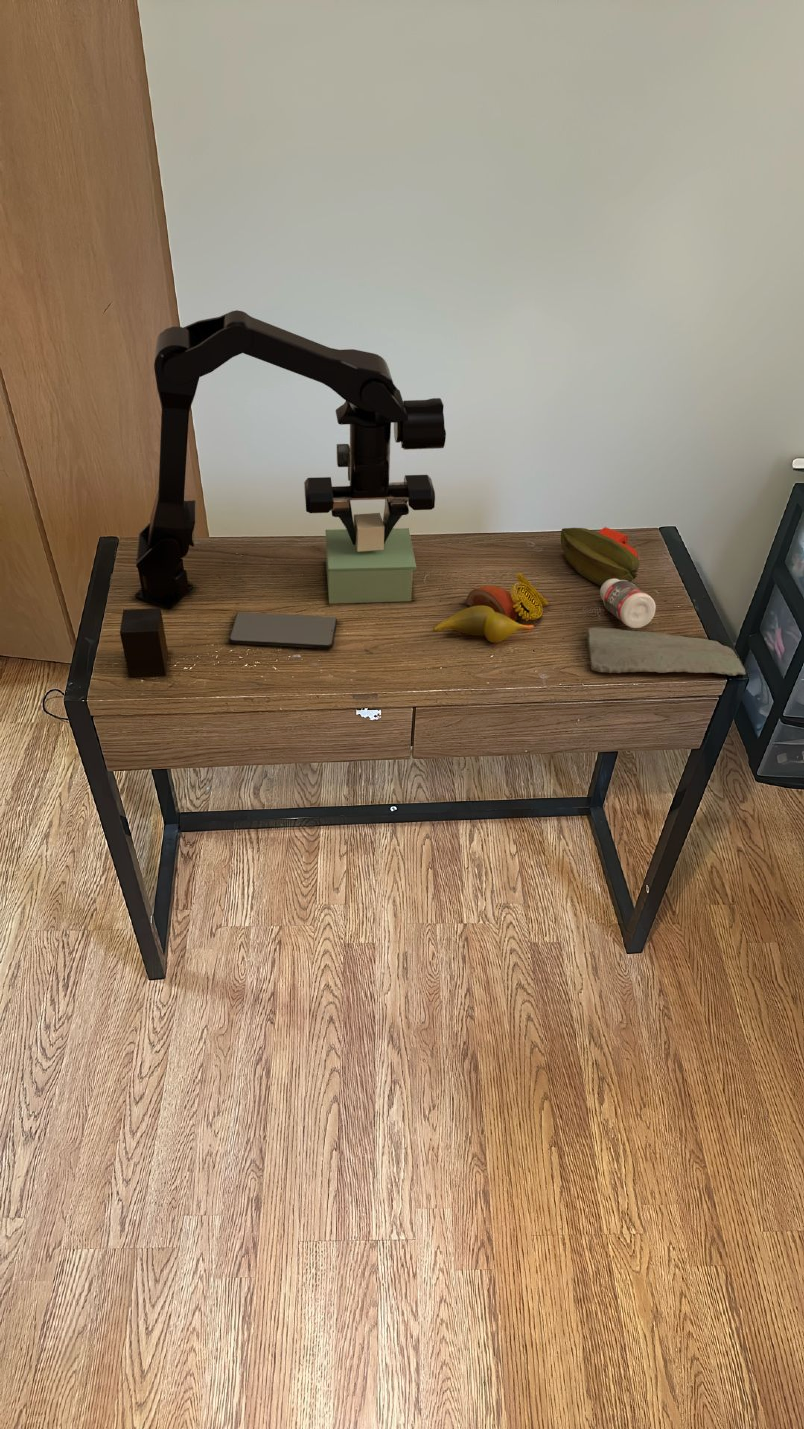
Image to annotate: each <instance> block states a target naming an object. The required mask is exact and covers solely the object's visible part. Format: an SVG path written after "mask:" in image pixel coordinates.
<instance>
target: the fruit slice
mask: <svg viewBox="0 0 804 1429" xmlns="http://www.w3.org/2000/svg"><path fill="white" fill-rule="evenodd" d="M465 601H466V602H465V603H466V605H468V606H469V607H473V606H480V605H484V606H489V607H490V608H492V609H493V610H494V611H495V612H498V613H501V614H503V615H505V616H507V617H509V618H510V619H512V620H513V621H515V622H517V621H516V620H517V618H518V615H519V614H518V613H519V611H518V612H516V611H515V609H517V608H514V607H513V605H515V604H516V603H517V602H515V603H514V602H513V600H512V598H511V592H510V591H508V590H507V589H505V588H502V587H500V586H496V585H481V586H479V587H476V588H473V589H472V590H471V591H469V593H468V595H467V597H466V600H465Z"/></svg>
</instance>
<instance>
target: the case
mask: <svg viewBox="0 0 804 1429" xmlns="http://www.w3.org/2000/svg"><path fill="white" fill-rule="evenodd" d="M325 566H326V580H327V593H328V594H327V595H328V604H329V605H330V604H331V605H332V604H363V603H364V604H366V603H396V602H397V603H398V602H399V603H402V602H412V590H413V572H414V570H386V571H342V572H329V571H328V559H327V545H326V544H325Z"/></svg>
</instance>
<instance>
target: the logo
mask: <svg viewBox="0 0 804 1429" xmlns="http://www.w3.org/2000/svg"><path fill="white" fill-rule="evenodd" d="M515 577H516V579H517V580H518V582H516V583H515V584H513V585H512V586H511V587H510V591H509V593H510V594H511V598H512V600H513V602H514V603H515V602H516V604H515V605H513V607H514V608H517V609H515V611H516V612H518V614H517V615H518V616H519V617H521V618H522V619H523V620H525V621H526V622H528V621H529V620H530V621H536V620H538V619H539V618H541V616H542V615H543V607H546V606H547V605H548V604H549V602H548V601H547V600H546V599H545V598H544V597H543V595H542V594H540V592H539V591H538V590H537V589H536V588H535V587H534V585H533V584H532V583H531V582H530V581H529V580H528V579H527V578H526V577H525V576H524V575H523V573H521V572H518V573H517V574H516V575H515Z"/></svg>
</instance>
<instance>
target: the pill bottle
mask: <svg viewBox="0 0 804 1429" xmlns="http://www.w3.org/2000/svg"><path fill="white" fill-rule="evenodd" d="M599 596H600V599H601V600H602V601H603V606H604V608H605V609H606V610H607V611H608V612H609V613H610V614H612V615H613V616H614V617H615V618H616V619H618V620H619V621H620V622H621V623H622V624H624V625H625V626H627V627H628V628H630V629H641V628H643V627H645V626H647V625H648V624H649V623H650V622H652V620H653V618H654V616H655V614H656V608H657V606H656V602H655V599H654V598H652V596H651V595H649V594H648V593H646V592H645V591H644V590H642V589H641V588H640V587H638V586H637V585H635V584H634V583H632V582H631V581H630V582H629V581H627V580H618V579H609V580H607V581H606V582H605V583H604V584H603V585H602V586H600V590H599Z"/></svg>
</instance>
